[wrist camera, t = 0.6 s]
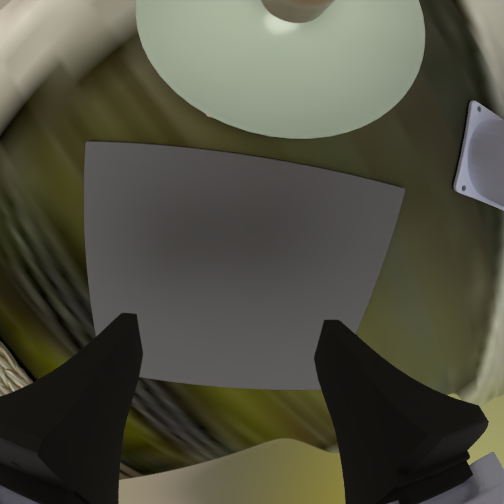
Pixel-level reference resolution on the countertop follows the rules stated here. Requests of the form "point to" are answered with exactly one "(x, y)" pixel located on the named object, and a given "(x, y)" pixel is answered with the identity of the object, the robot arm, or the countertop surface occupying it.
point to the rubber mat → (230, 258)
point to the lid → (286, 60)
